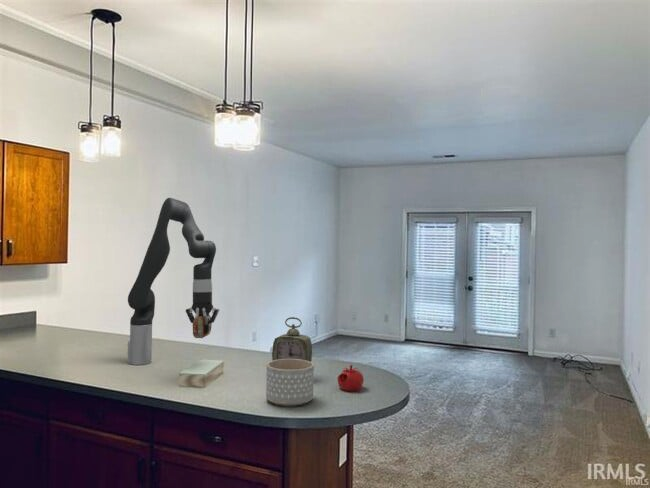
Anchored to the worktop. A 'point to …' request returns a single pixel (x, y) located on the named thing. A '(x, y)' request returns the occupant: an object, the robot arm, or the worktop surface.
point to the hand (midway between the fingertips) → (202, 333)
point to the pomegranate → (350, 379)
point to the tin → (200, 327)
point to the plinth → (201, 373)
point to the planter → (289, 381)
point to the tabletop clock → (292, 345)
